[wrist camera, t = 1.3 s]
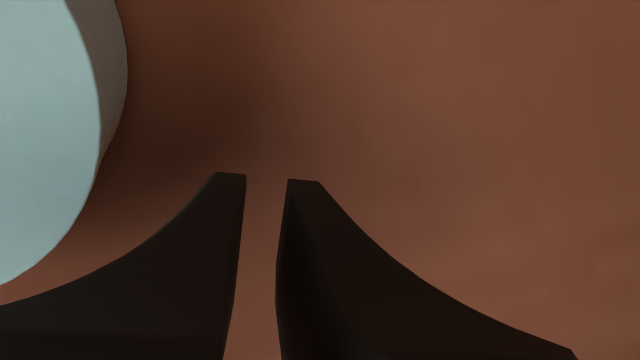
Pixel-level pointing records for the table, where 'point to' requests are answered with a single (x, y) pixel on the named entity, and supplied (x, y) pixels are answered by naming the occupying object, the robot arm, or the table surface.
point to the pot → (54, 118)
